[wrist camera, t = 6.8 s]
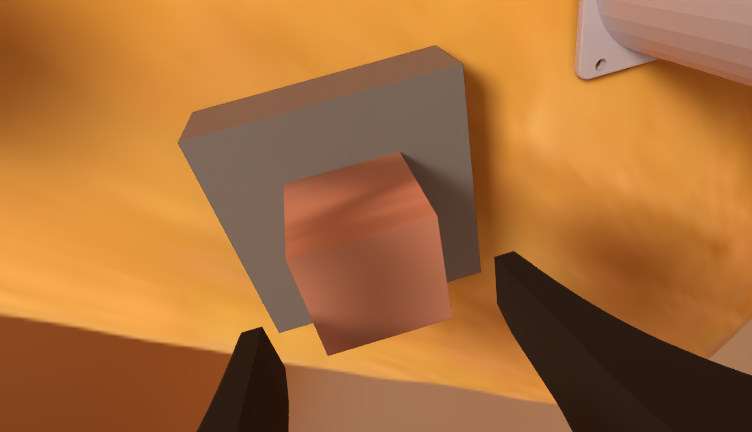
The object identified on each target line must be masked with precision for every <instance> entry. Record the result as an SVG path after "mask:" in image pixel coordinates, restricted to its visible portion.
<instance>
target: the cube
mask: <svg viewBox="0 0 752 432" xmlns="http://www.w3.org/2000/svg"><path fill="white" fill-rule="evenodd" d="M283 189H284V220H285V250H286V261H287V264H288V266H289V268H290V271H291V273H292V275H293V277H294V280H295V282H296V284H297V287H298V289H299V291H300V293H301V296H302V298H303V300H304V303H305V305H306V307H307V309H308V312H309V314H310V316H311V319H312V321H313V323H314V325H315V328H316V330H317V332H318V335H319V337H320V339H321V341H322V344H323V346H324V348H325V350H326V353H327V355H328V356H329V355H333V354H336V353H339V352H343V351H346V350H349V349H353V348H356V347H359V346H363V345H366V344H369V343H372V342H376V341H379V340H382V339H386V338H389V337H392V336H396V335H399V334H402V333H406V332H409V331H412V330H415V329H419V328H422V327H425V326H429V325H432V324H435V323H439V322H442V321H445V320H449V319H452V314H451V307H450V300H449V293H448V286H447V279H446V273H445V266H444V259H443V252H442V245H441V238H440V231H439V224H438V217H437V215H436V213H435V211H434V210H433V208H432V206H431V204H430V203H429V201H428V199H427V198H426V196H425V194H424V193H423V191H422V189H421V187H420V186H419V184H418V182H417V181H416V179H415V177H414V175H413V174H412V172H411V170H410V169H409V167H408V165H407V164H406V162H405V160H404V158H403V157H402V155H401V153H400V152H396V153H392V154H389V155H385V156H382V157H378V158H374V159H371V160H367V161H364V162H360V163H357V164H353V165H349V166H346V167H342V168H339V169H335V170H332V171H328V172H324V173H321V174H317V175H314V176H310V177H307V178H303V179H299V180H296V181H292V182H289V183H285V184H283Z"/></svg>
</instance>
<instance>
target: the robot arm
mask: <svg viewBox="0 0 752 432" xmlns="http://www.w3.org/2000/svg"><path fill="white" fill-rule="evenodd" d="M600 59H601V63H600V65H599V66H598V67H597V68H595V66H596V63H597V62H598V61H599V60H600ZM658 59H663V60H667V61H670V62H673V63H676V64H680V65H683V66H686V67H689V68H693V69H696V70H699V71H702V72H706V73H709V74H712V75H715V76H719V77H722V78H725V79H728V80H732V81H735V82H738V83H741V84H745V85H748V86H751V87H752V0H579V11H578V26H577V42H576V57H575V74H576V75H577V76H578V77H580V78H582V79H591V78H594V77H598V76H601V75H605V74H609V73H612V72H616V71H619V70H623V69H626V68H630V67H633V66H637V65H640V64H644V63H647V62H651V61H654V60H658ZM494 258H495V275H496V292H497V304H498V306H499V308H500V310H501V312H502V314H503V316H504V318H505V320H506V322H507V324H508V326H509V328H510V330H511V332H512V334H513V336H514V337H515V339H516V340H517V342H518V343H519V345H520V346H521V348H522V350H523V351H524V353H525V354H526V356H527V357H528V359H529V360H530V362H531V363H532V365H533V366H534V368H535V370H536V371H537V373H538V374H539V376H540V377H541V379H542V380H543V382H544V383H545V385H546V386H547V388H548V389H549V391H550V393H551V394H552V396H553V397H554V399H555V401H556V402H557V404H558V406H559V407H560V409H561V411H562V412H563V414H564V416H565V418H566V420H567V422H568V424H569V426H570V428H571V429H572V431H573V432H752V375H749V374H746V373H742V372H740V371H737V370H735V369H732V368H729V367H726V366H723V365H721V364H718V363H715V362H712V361H710V360H707V359H705V358H702V357H700V356H697V355H695V354H693V353H690V352H688V351H685V350H683V349H681V348H678V347H676V346H673V345H671V344H669V343H666V342H664V341H662V340H659V339H657V338H655V337H653V336H651V335H649V334H647V333H645V332H643V331H641V330H639V329H637V328H635V327H633V326H631V325H629V324H627V323H625V322H623V321H621V320H619V319H617V318H616V317H614V316H612V315H610V314H608V313H607V312H605V311H603V310H601V309H600V308H598V307H596V306H595V305H593V304H591V303H590V302H588V301H586V300H585V299H583V298H581V297H580V296H578V295H577V294H575V293H574V292H572V291H571V290H569V289H567V288H566V287H564V286H563V285H561V284H560V283H558V282H557V281H555V280H554V279H552V278H551V277H550V276H548V275H547V274H545V273H544V272H542V271H541V270H540V269H538V268H537V267H535V266H534V265H533V264H531V263H530V262H528V261H527V260H526V259H524V258H523V257H521V256H520V255H519V254H517V253H516V252H514V251H513V252H510V253H506V254H503V255H500V256H496V257H494ZM288 415H289V400H288V389H287V380H286V372H285V367H284V365H283V363H282V361H281V360H280V358H279V356H278V354H277V352H276V351H275V349H274V347H273V345H272V344H271V342H270V340H269V338H268V336H267V335H266V333H265V331H264V329H263V328H262V327H259V328H256V329H252V330H249V331H246V332H242V333H241V335H240V337H239V339H238V341H237V344H236V346H235V349H234V351H233V354H232V356H231V359H230V361H229V364H228V366H227V368H226V371H225V373H224V375H223V378H222V380H221V382H220V384H219V386H218V389H217V391H216V393H215V395H214V397H213V400H212V402H211V404H210V406H209V408H208V410H207V412H206V414H205V416H204V418H203V420H202V422H201V424H200V426H199V428H198V430H197V432H288V422H289V416H288Z"/></svg>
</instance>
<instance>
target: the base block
mask: <svg viewBox="0 0 752 432" xmlns="http://www.w3.org/2000/svg"><path fill="white" fill-rule="evenodd" d="M178 144H179V146H180V148H181V150H182V152H183V154H184V156H185V157H186V159H187V161H188V163H189V165H190V167H191V169H192V171H193V172H194V174H195V176H196V178H197V180H198V182H199V184H200V186H201V187H202V189H203V191H204V193H205V195H206V197H207V199H208V201H209V202H210V204H211V206H212V208H213V210H214V212H215V214H216V216H217V217H218V219H219V221H220V223H221V225H222V227H223V229H224V231H225V232H226V234H227V236H228V238H229V240H230V242H231V244H232V246H233V247H234V249H235V251H236V253H237V255H238V257H239V259H240V260H241V262H242V264H243V266H244V268H245V270H246V272H247V274H248V275H249V277H250V279H251V281H252V283H253V285H254V287H255V289H256V290H257V292H258V294H259V296H260V298H261V300H262V302H263V304H264V305H265V307H266V309H267V311H268V313H269V315H270V317H271V319H272V320H273V322H274V324H275V326H276V328H277V330H278V332H279V333H281V332H285V331H288V330H291V329H294V328H298V327H301V326H304V325H308V324H311V323H313V321H312V319H311V316H310V314H309V312H308V309H307V307H306V305H305V303H304V300H303V298H302V296H301V293H300V291H299V289H298V287H297V284H296V282H295V280H294V277H293V275H292V273H291V271H290V268H289V266H288V264H287V261H286V250H285V220H284V189H283V184H285V183H289V182H292V181H296V180H299V179H303V178H307V177H310V176H314V175H317V174H321V173H324V172H328V171H332V170H335V169H339V168H342V167H346V166H349V165H353V164H357V163H360V162H364V161H367V160H371V159H374V158H378V157H382V156H385V155H389V154H392V153H396V152H400V153H401V155H402V157H403V158H404V160H405V162H406V164H407V165H408V167H409V169H410V170H411V172H412V174H413V175H414V177H415V179H416V181H417V182H418V184H419V186H420V187H421V189H422V191H423V193H424V194H425V196H426V198H427V199H428V201H429V203H430V204H431V206H432V208H433V210H434V211H435V213H436V215H437V217H438V224H439V231H440V238H441V245H442V252H443V259H444V266H445V273H446V279H447V282H449V281H453V280H456V279H459V278H463V277H466V276H469V275H473V274H476V273H479V272H481V267H480V256H479V244H478V233H477V222H476V210H475V199H474V187H473V176H472V164H471V153H470V141H469V130H468V118H467V107H466V96H465V84H464V73H463V63H461V62H460V61H458V60H457V59H455V58H454V57H452V56H451V55H449V54H448V53H446V52H445V51H443V50H442V49H440V48H439V47H437V46H436V45H435V46H431V47H428V48H424V49H421V50H417V51H413V52H410V53H406V54H402V55H399V56H395V57H392V58H388V59H384V60H381V61H377V62H373V63H370V64H366V65H363V66H359V67H355V68H352V69H348V70H344V71H341V72H337V73H334V74H330V75H326V76H323V77H319V78H316V79H312V80H308V81H305V82H301V83H297V84H294V85H290V86H287V87H283V88H279V89H276V90H272V91H268V92H265V93H261V94H258V95H254V96H250V97H247V98H243V99H239V100H236V101H232V102H229V103H225V104H221V105H218V106H214V107H210V108H207V109H203V110H200V111H196V112H192V114H191V116H190V118H189V120H188V123H187V125H186V127H185V129H184V131H183V133H182V135H181V137H180V139H179V141H178Z"/></svg>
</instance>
